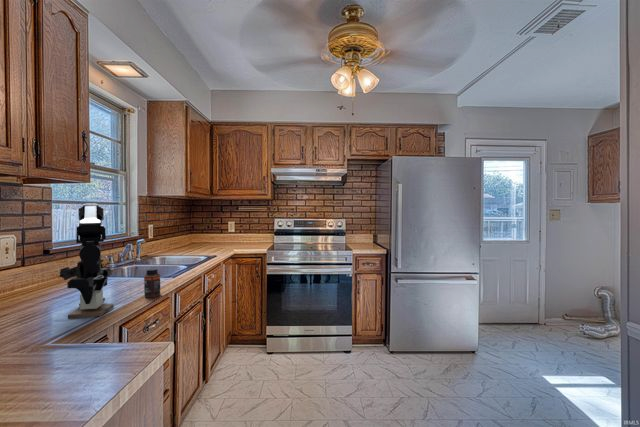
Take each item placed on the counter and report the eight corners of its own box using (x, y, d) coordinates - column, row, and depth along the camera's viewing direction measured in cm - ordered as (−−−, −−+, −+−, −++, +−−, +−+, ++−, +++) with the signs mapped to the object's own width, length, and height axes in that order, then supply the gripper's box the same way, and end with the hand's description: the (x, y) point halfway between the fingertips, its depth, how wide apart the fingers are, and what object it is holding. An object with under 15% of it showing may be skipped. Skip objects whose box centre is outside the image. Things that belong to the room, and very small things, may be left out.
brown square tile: (83, 308, 117) (83, 305, 117) (113, 306, 119) (113, 303, 119) (67, 318, 107) (67, 314, 107) (101, 316, 109) (101, 313, 109)
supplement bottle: (163, 293, 136) (162, 267, 135) (156, 298, 130) (156, 270, 129) (148, 293, 136) (148, 267, 135) (141, 298, 130) (141, 270, 129)
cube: (87, 304, 115) (87, 290, 115) (103, 303, 116) (102, 290, 116) (80, 309, 110) (79, 295, 110) (96, 308, 111) (96, 294, 111)
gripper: (78, 253, 120) (79, 294, 120) (47, 263, 101) (49, 312, 102) (111, 253, 122) (112, 293, 123) (87, 262, 104) (88, 309, 104)
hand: (91, 301), depth 113 cm, fingers open, 5 cm apart
